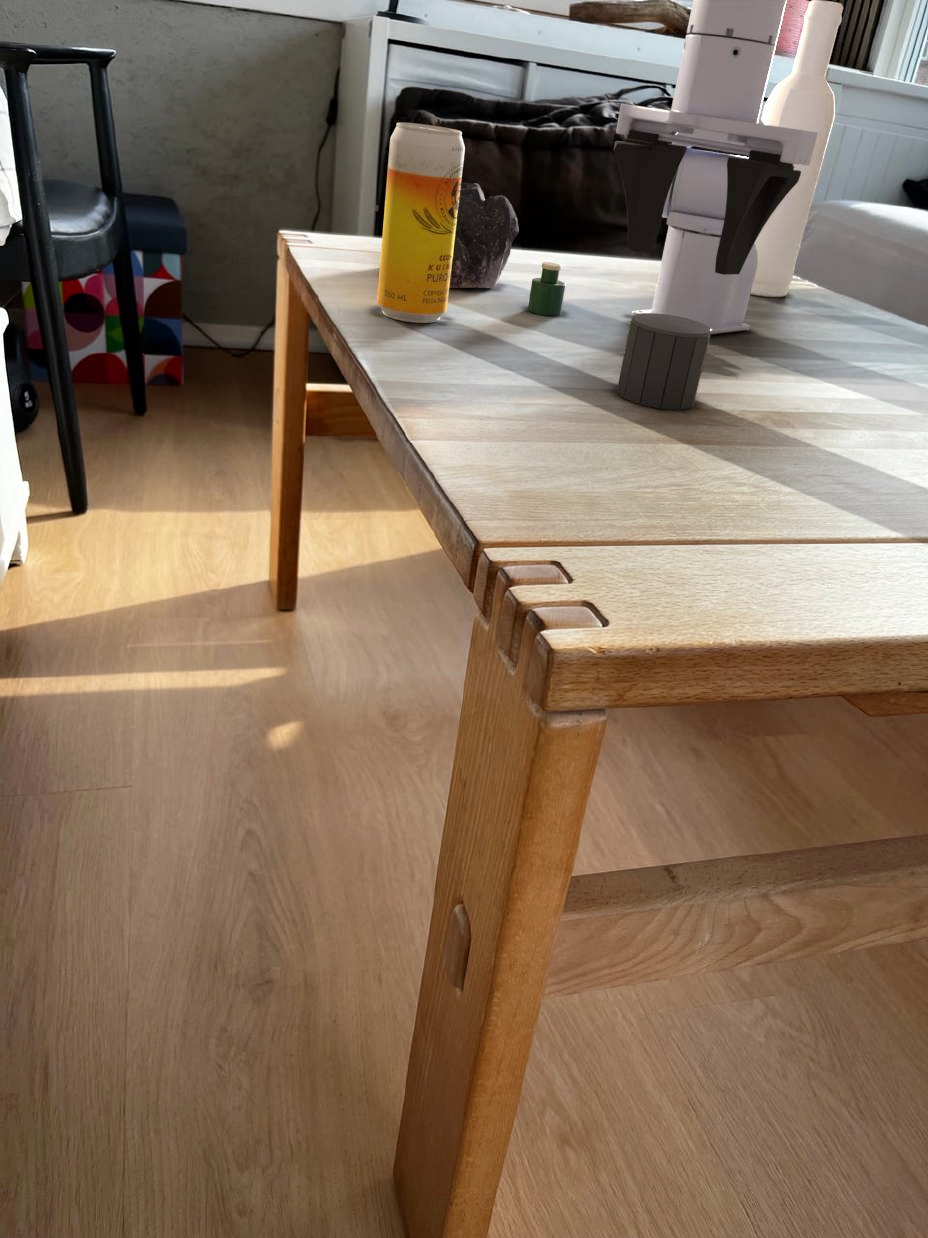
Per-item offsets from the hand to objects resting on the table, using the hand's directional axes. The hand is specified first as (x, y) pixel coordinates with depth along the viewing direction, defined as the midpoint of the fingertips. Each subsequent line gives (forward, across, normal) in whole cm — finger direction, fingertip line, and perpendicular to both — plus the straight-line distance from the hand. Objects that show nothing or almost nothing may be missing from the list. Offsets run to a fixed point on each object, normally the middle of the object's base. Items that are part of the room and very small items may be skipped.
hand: (682, 261), depth 72 cm
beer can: (+10, -25, -3) cm, 27 cm away
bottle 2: (+9, -25, +51) cm, 57 cm away
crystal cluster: (+9, -37, +12) cm, 40 cm away
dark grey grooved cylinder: (+10, 0, 0) cm, 10 cm away
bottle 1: (+9, -23, +12) cm, 28 cm away
